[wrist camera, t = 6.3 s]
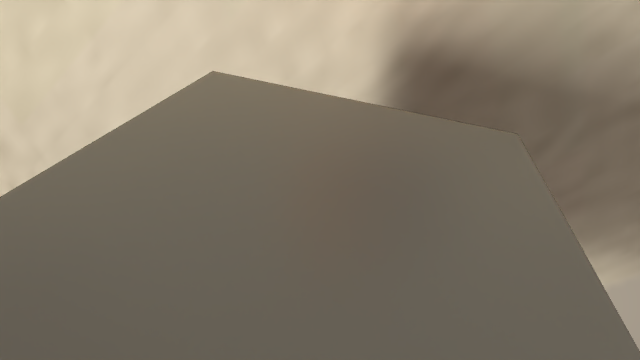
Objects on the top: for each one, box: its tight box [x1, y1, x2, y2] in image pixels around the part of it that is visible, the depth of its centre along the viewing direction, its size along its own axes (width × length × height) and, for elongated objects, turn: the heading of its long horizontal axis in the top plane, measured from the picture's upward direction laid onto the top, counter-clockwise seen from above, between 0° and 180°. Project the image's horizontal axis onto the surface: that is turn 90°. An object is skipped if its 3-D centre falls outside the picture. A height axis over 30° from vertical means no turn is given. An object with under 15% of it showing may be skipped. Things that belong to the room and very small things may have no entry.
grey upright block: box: [0, 71, 640, 360], centre depth 8 cm, size 8×8×9 cm
